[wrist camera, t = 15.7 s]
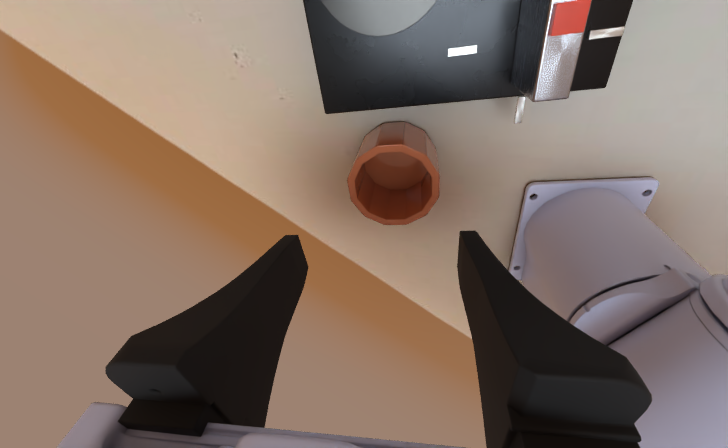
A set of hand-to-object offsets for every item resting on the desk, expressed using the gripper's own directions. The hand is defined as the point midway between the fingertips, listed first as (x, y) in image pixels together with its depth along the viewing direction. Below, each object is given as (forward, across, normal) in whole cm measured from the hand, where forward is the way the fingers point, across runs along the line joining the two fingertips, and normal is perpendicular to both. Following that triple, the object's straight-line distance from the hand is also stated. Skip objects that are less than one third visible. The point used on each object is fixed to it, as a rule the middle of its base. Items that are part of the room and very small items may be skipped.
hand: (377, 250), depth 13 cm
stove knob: (+8, -7, -6) cm, 13 cm away
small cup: (+10, 0, 0) cm, 10 cm away
